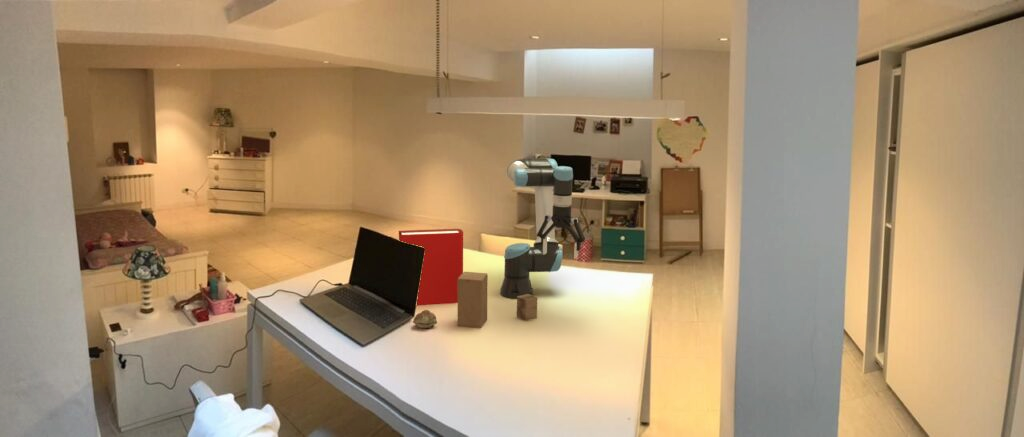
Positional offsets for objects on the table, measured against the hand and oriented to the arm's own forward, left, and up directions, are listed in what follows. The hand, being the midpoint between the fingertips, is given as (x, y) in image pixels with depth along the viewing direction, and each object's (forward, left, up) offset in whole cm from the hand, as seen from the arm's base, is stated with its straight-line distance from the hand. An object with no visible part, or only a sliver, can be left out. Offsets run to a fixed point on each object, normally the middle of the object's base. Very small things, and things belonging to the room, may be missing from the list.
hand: (560, 255), depth 257 cm
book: (-48, -33, -27) cm, 64 cm away
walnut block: (-8, -11, -27) cm, 30 cm away
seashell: (-23, -51, -27) cm, 62 cm away
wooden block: (-16, -33, -27) cm, 45 cm away
